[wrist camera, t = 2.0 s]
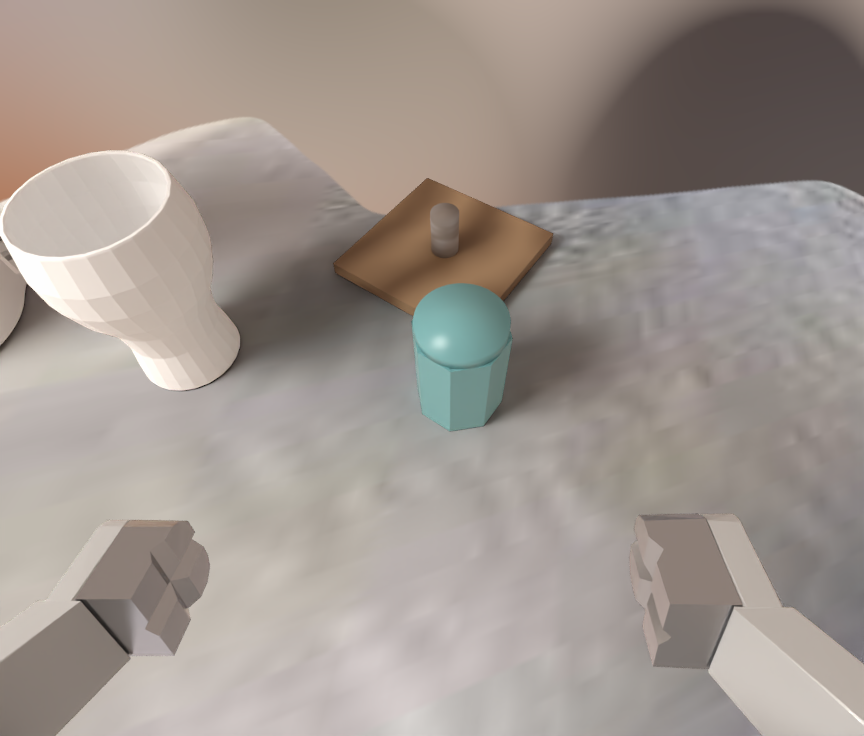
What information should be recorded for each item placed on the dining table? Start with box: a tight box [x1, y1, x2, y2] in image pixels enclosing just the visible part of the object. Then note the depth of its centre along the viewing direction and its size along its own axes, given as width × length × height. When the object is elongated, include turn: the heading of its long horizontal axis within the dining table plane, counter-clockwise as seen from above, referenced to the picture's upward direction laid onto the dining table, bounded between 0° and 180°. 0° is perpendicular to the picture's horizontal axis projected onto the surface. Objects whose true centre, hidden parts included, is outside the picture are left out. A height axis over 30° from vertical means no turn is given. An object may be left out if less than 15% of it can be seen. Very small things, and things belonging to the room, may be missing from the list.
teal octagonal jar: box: [412, 283, 513, 431], centre depth 36 cm, size 6×6×9 cm
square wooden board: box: [333, 178, 553, 316], centre depth 46 cm, size 14×14×5 cm
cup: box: [0, 150, 240, 391], centre depth 37 cm, size 11×11×15 cm
